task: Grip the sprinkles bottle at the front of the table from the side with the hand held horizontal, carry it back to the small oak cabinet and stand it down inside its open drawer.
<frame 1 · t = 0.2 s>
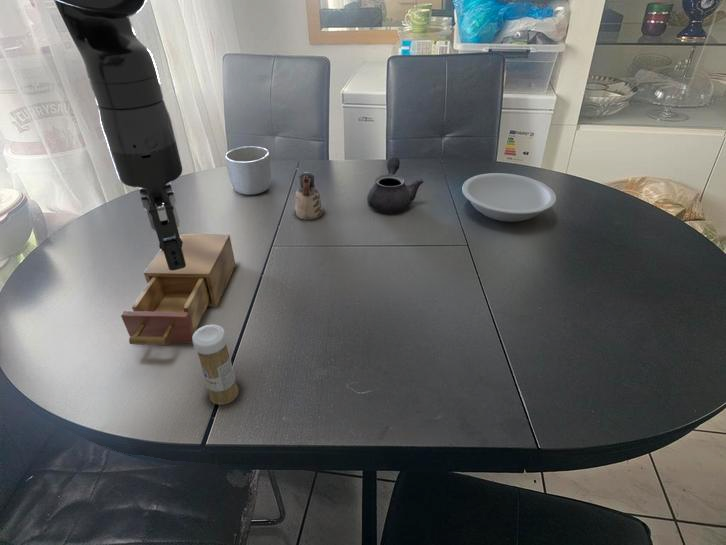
hand: (173, 252, 63), 23 cm above the table, tool pointing down, fingers open, 8 cm apart
sprinkles bottle: (225, 395, 72), on the table
figurine: (309, 214, 121), on the table
soup bowl: (503, 213, 122), on the table
teapot: (393, 200, 128), on the table
drawer: (168, 312, 82), point 4 cm above the table, slide at 10.0 cm
cabinet: (197, 284, 96), on the table
planter: (252, 189, 134), on the table
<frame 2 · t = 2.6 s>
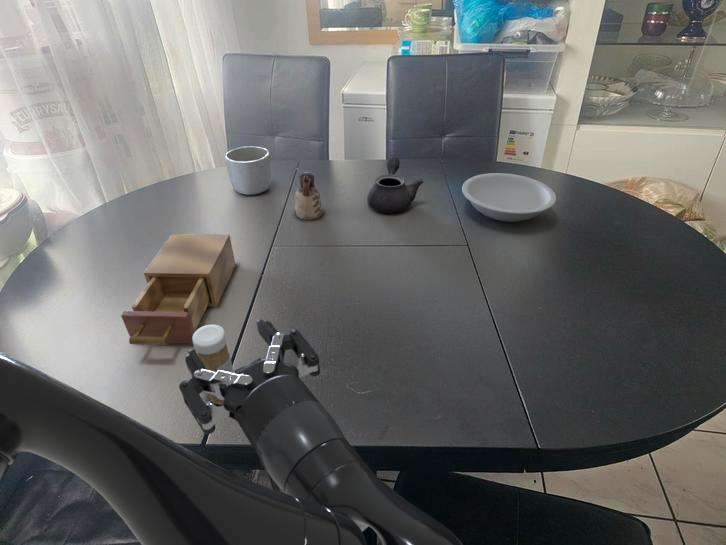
hand: (227, 339, 54), 20 cm above the table, tool horizontal, fingers open, 8 cm apart
nothing on the table moved.
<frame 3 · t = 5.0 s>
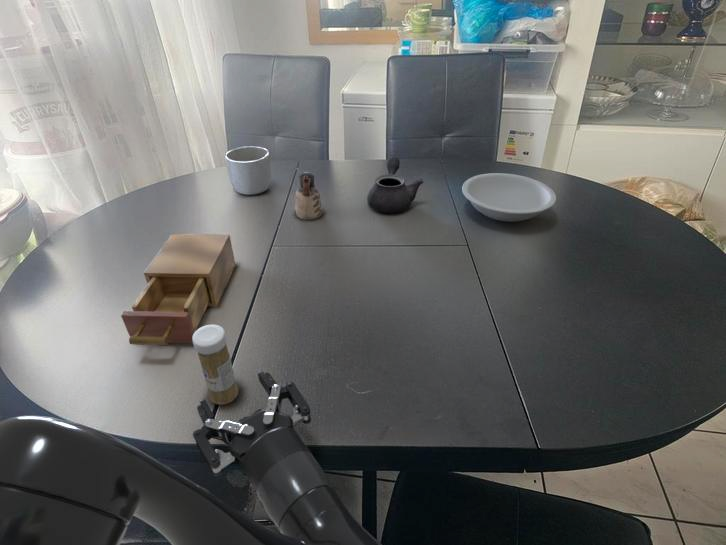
hand: (232, 389, 63), 8 cm above the table, tool horizontal, fingers open, 8 cm apart
nothing on the table moved.
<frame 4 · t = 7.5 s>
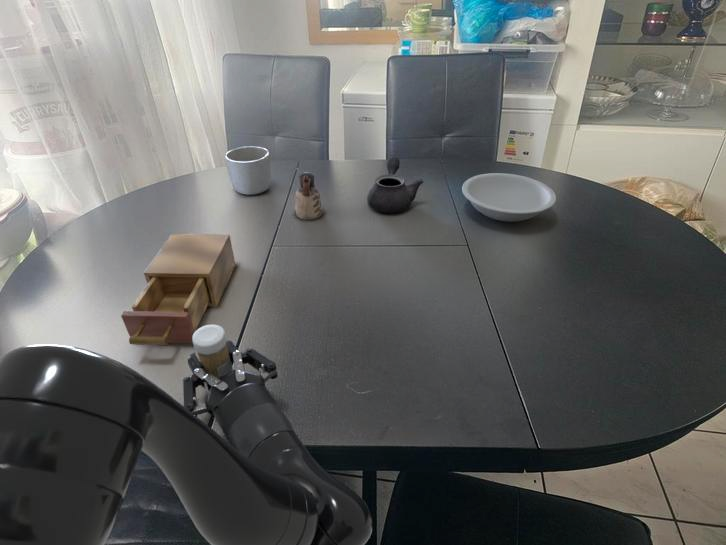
hand: (208, 350, 69), 8 cm above the table, tool horizontal, fingers closed on sprinkles bottle, 4 cm apart
sprinkles bottle: (224, 395, 72), on the table, touching gripper
everything else where it was.
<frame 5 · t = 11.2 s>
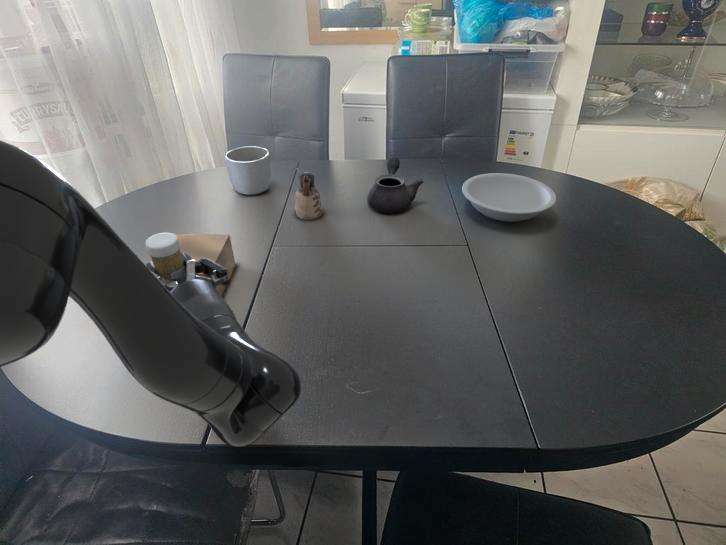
hand: (165, 262, 71), 18 cm above the table, tool horizontal, fingers closed on sprinkles bottle, 4 cm apart
sprinkles bottle: (182, 309, 74), point 10 cm above the table, touching gripper
everything else where it was.
when the fingers open (10 cm above the table, at t = 15.1 s): sprinkles bottle stays where it is, resting on drawer.
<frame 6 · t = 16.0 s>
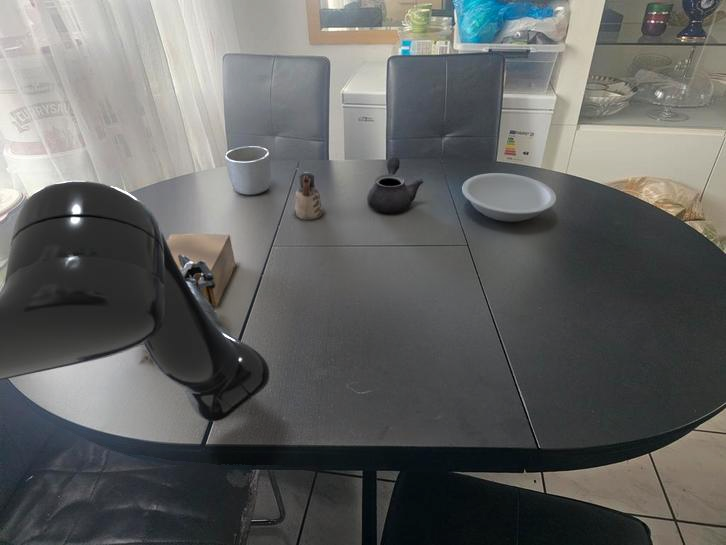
hand: (156, 266, 80), 12 cm above the table, tool horizontal, fingers open, 8 cm apart
sprinkles bottle: (175, 315, 85), point 2 cm above the table, touching drawer
drawer: (168, 312, 82), point 4 cm above the table, slide at 9.9 cm, touching sprinkles bottle
everything else where it was.
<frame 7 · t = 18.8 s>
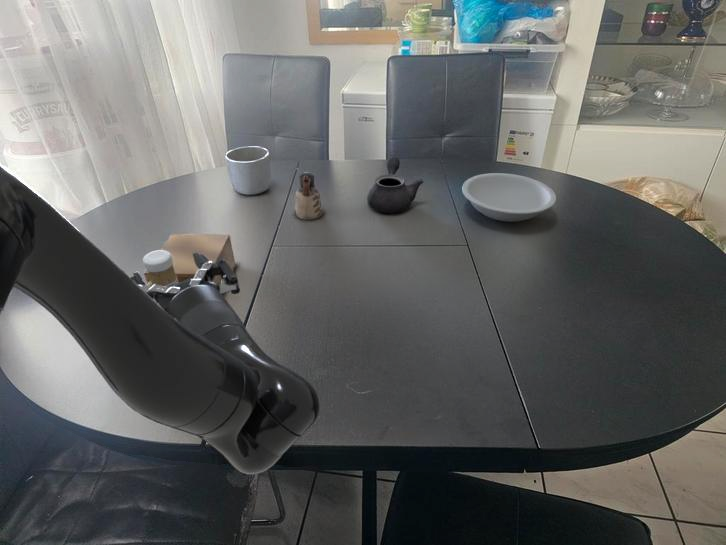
hand: (167, 267, 66), 20 cm above the table, tool horizontal, fingers open, 8 cm apart
nothing on the table moved.
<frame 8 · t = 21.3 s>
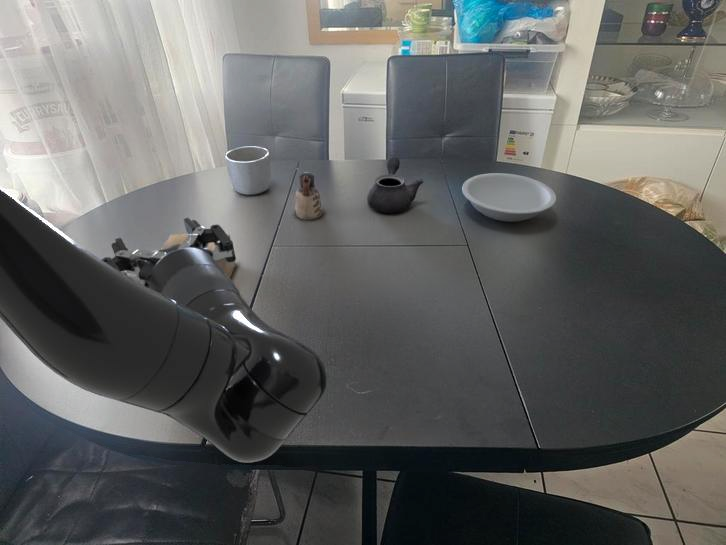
hand: (154, 233, 58), 28 cm above the table, tool horizontal, fingers open, 8 cm apart
nothing on the table moved.
at the end: sprinkles bottle inside the target area in the drawer (0.2 cm from its centre), point 1.8 cm above the cabinet's base; sprinkles bottle touching drawer; the gripper is holding nothing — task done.
